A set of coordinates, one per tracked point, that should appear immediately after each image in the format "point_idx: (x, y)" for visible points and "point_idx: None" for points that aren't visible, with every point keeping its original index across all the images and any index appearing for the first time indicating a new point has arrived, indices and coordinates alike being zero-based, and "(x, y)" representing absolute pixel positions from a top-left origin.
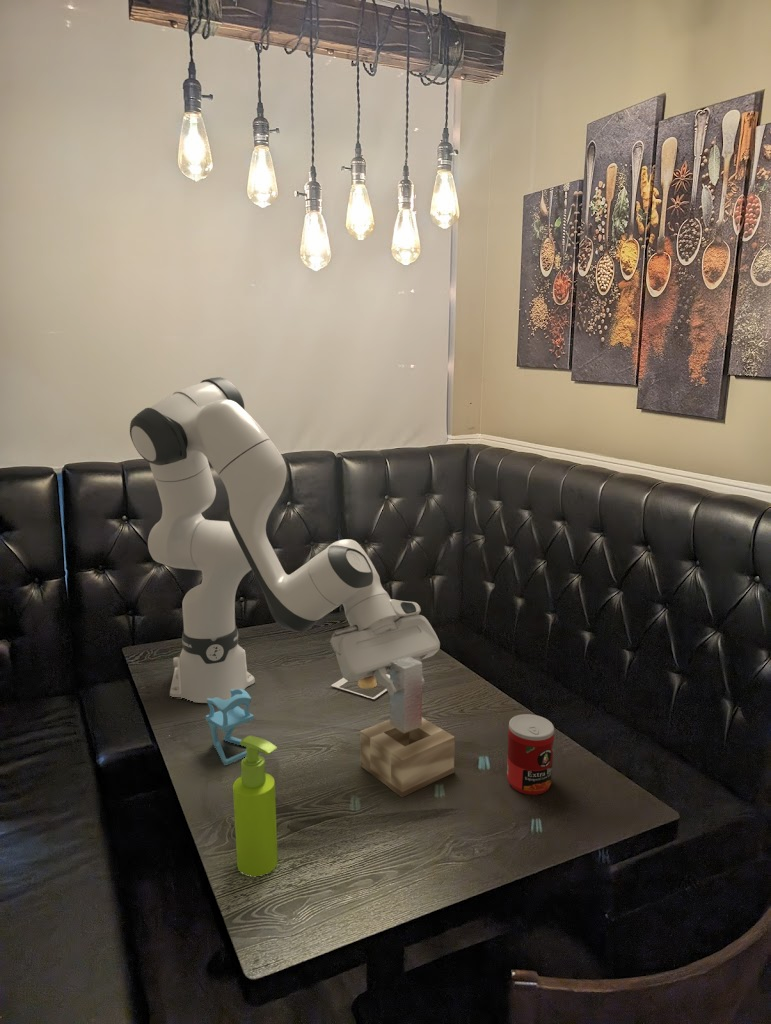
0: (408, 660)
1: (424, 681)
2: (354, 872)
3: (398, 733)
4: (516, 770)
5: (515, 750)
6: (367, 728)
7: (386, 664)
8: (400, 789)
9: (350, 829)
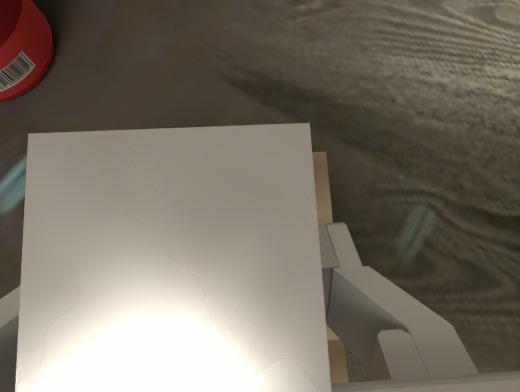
0: (117, 293)
1: None
2: (516, 46)
3: None
4: (29, 10)
5: None
6: None
7: (402, 382)
8: None
9: (468, 155)
